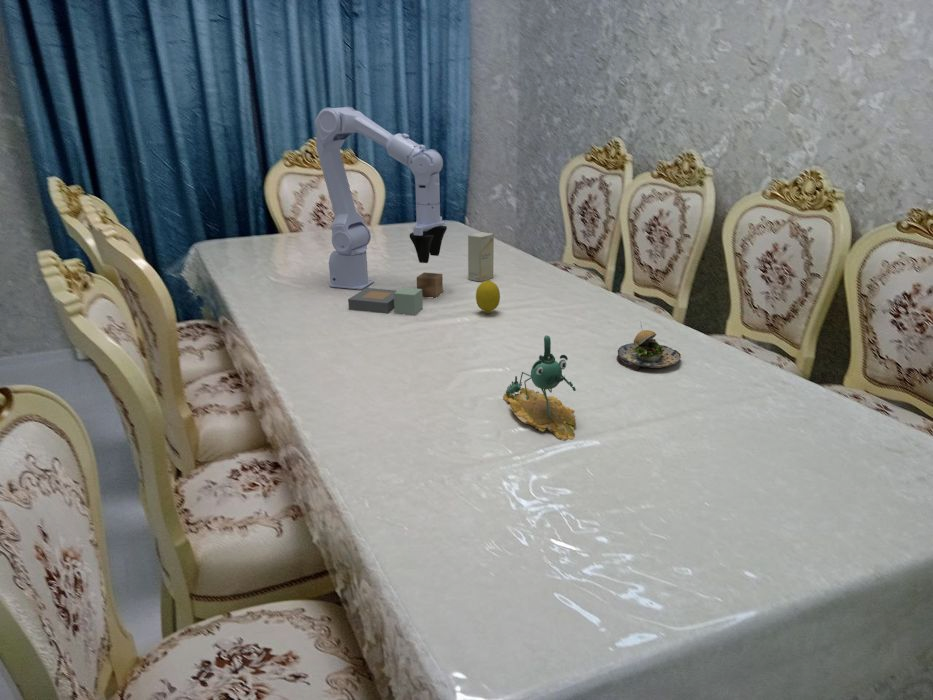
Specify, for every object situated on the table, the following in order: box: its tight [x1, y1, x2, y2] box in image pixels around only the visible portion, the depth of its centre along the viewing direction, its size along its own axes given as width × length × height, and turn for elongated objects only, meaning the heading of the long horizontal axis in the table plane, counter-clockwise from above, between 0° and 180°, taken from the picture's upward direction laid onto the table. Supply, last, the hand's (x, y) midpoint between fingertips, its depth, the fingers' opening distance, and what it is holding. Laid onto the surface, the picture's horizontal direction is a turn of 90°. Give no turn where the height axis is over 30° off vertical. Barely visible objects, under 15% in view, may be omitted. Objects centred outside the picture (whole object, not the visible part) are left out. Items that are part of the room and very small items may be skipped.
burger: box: [616, 321, 682, 372], centre depth 125 cm, size 12×12×8 cm
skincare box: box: [467, 231, 495, 283], centre depth 178 cm, size 6×4×12 cm
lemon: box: [475, 279, 501, 314], centre depth 151 cm, size 6×6×8 cm
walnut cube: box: [416, 271, 444, 299], centre depth 166 cm, size 5×5×5 cm
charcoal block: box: [347, 287, 398, 315], centre depth 158 cm, size 10×10×3 cm
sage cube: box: [394, 286, 424, 316], centre depth 153 cm, size 5×5×5 cm
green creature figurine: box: [502, 335, 577, 442], centre depth 103 cm, size 10×18×15 cm, turn 22°
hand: (429, 258), depth 163 cm, fingers open, 7 cm apart
